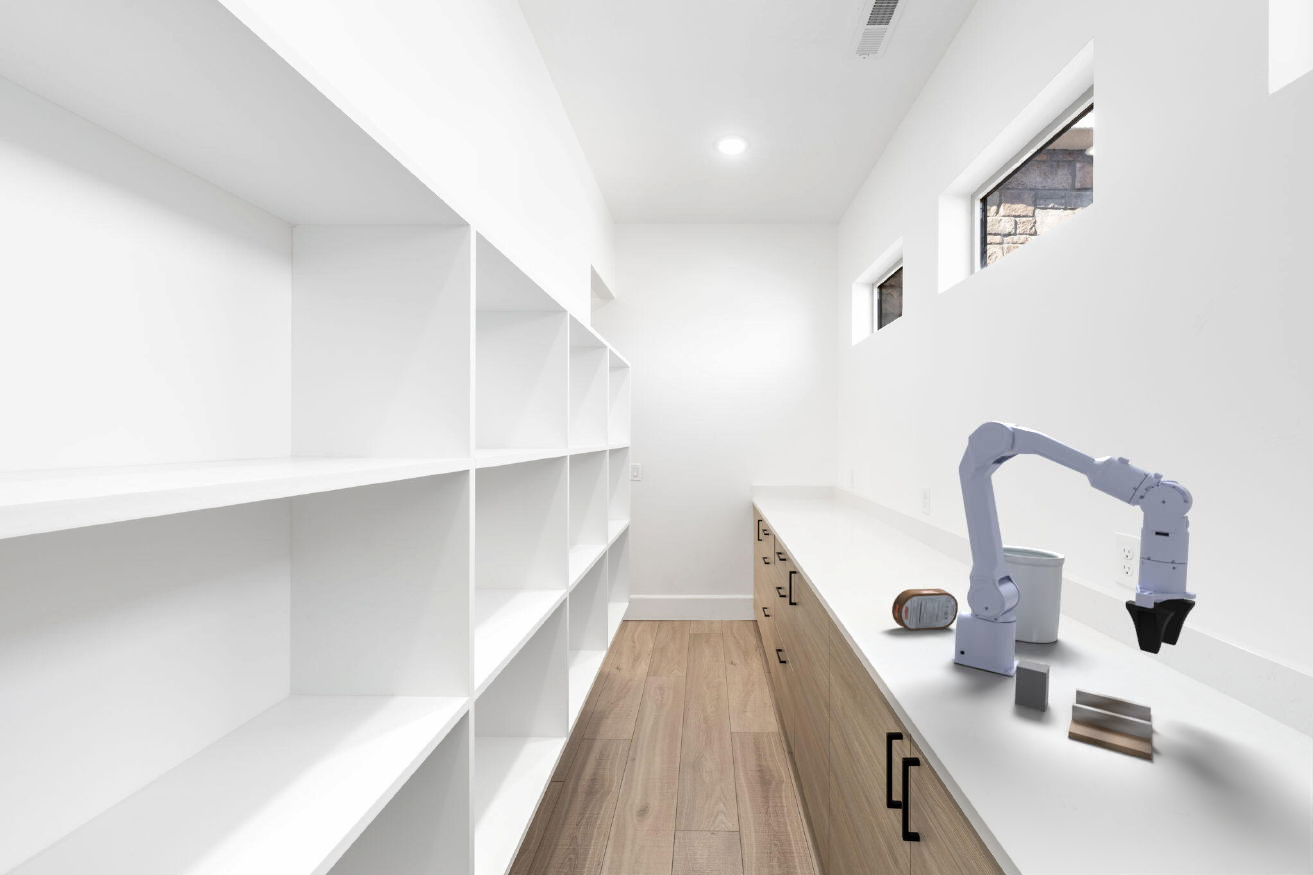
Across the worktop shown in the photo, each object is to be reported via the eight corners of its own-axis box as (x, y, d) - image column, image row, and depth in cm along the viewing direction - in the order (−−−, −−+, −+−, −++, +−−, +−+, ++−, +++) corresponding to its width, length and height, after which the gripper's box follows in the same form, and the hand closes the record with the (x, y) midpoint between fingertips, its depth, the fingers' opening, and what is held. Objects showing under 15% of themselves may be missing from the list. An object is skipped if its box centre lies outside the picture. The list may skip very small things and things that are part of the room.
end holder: (1068, 736, 86) (1069, 716, 86) (1078, 695, 100) (1079, 678, 100) (1151, 759, 81) (1152, 738, 81) (1149, 712, 95) (1150, 694, 95)
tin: (949, 624, 136) (951, 586, 136) (959, 629, 133) (961, 590, 133) (890, 628, 132) (891, 588, 132) (899, 633, 129) (901, 592, 129)
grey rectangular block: (1014, 704, 96) (1016, 665, 96) (1018, 696, 99) (1020, 658, 99) (1044, 712, 94) (1046, 672, 94) (1048, 703, 97) (1049, 665, 97)
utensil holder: (985, 617, 143) (989, 541, 142) (1062, 631, 134) (1066, 551, 134) (974, 633, 131) (978, 550, 131) (1058, 650, 122) (1062, 561, 122)
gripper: (1179, 569, 88) (1174, 664, 88) (1211, 560, 96) (1206, 647, 96) (1120, 559, 94) (1116, 649, 94) (1155, 552, 102) (1151, 633, 102)
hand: (1158, 647), depth 96 cm, fingers open, 7 cm apart
